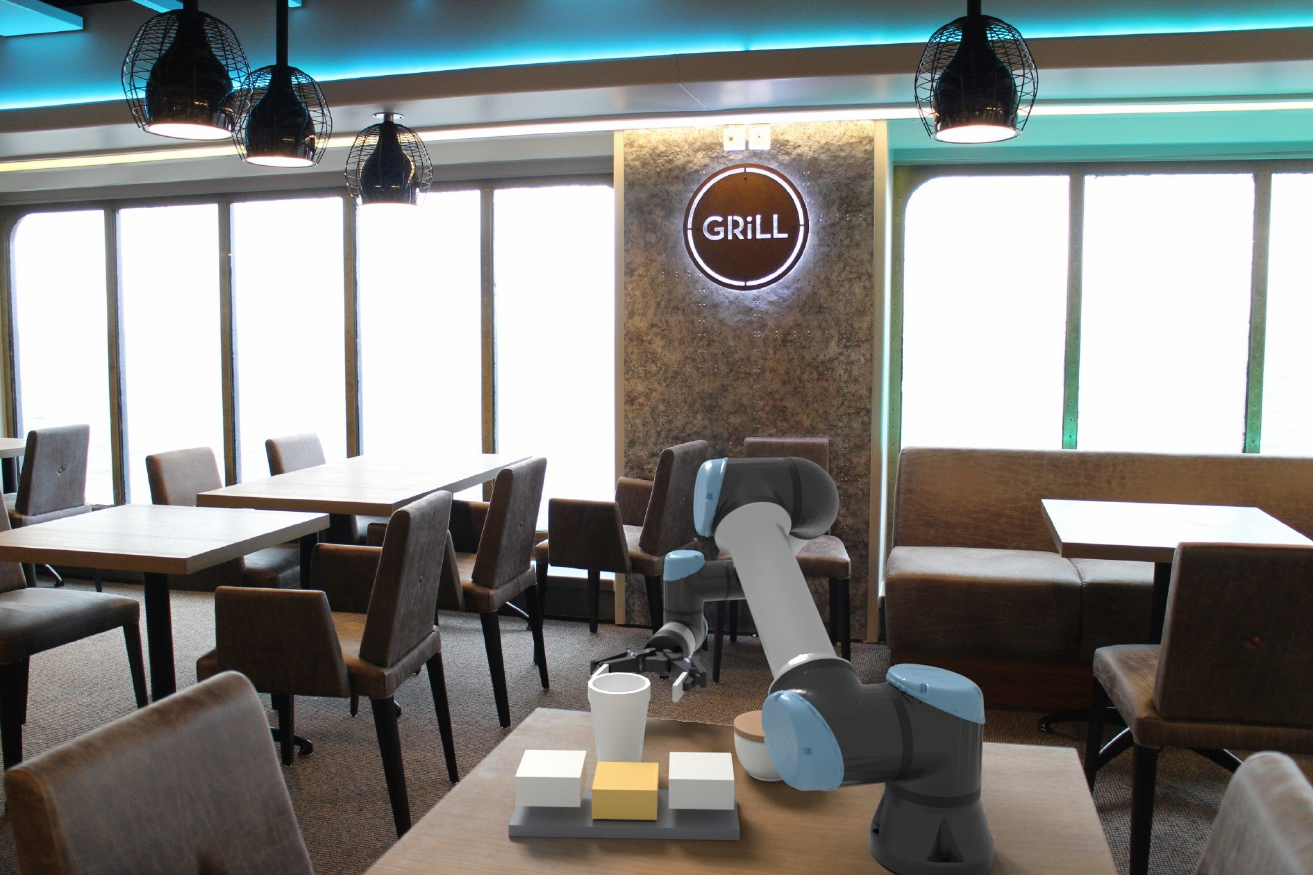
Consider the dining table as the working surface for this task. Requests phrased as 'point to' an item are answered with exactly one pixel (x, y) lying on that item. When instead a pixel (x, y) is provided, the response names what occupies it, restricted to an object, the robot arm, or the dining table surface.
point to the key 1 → (551, 778)
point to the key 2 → (701, 781)
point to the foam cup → (619, 715)
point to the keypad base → (626, 822)
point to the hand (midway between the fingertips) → (633, 689)
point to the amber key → (625, 790)
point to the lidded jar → (753, 747)
